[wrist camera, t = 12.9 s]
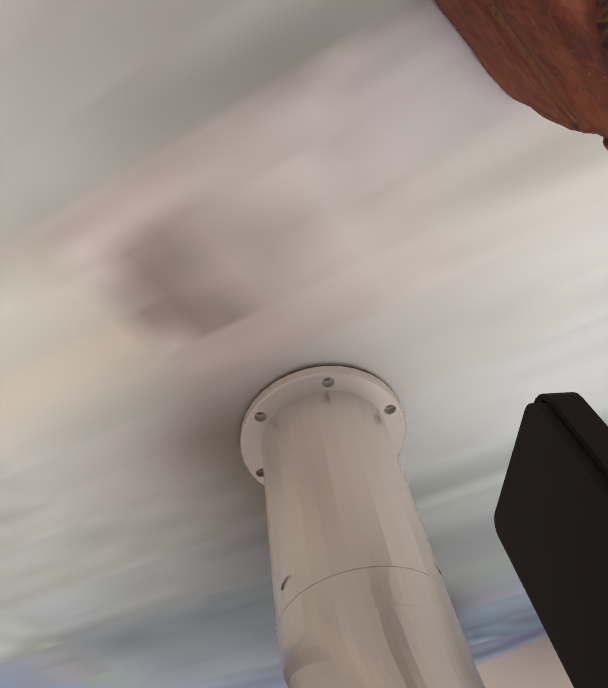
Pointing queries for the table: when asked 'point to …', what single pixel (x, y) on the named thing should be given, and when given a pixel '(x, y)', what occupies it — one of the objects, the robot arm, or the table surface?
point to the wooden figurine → (543, 54)
